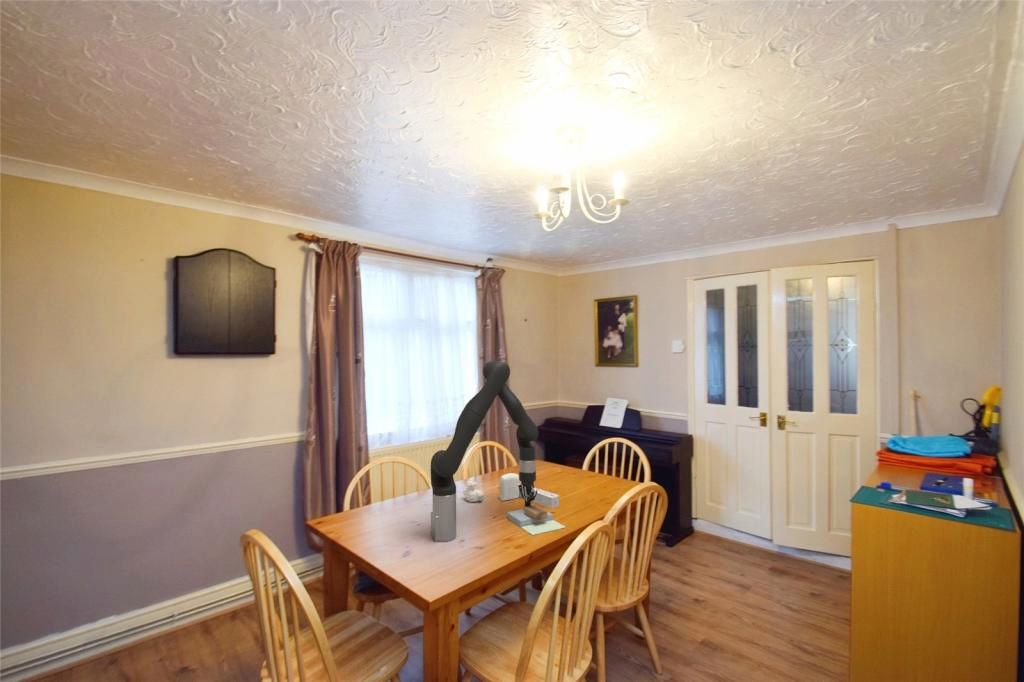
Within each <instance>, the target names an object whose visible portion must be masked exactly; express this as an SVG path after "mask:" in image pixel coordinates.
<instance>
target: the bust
mask: <svg viewBox="0 0 1024 682" xmlns="http://www.w3.org/2000/svg"><path fill="white" fill-rule="evenodd" d="M477 484H478V482H475V481H474V480H466V488H464V489H463V490H462V493H463V495H464V499H466V500H467V501H468V502H469V503H476V502H483V501H484V500H485V494H484V492H483V490H481V489H477V488H476V487H477Z"/></svg>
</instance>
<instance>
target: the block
mask: <svg viewBox="0 0 1024 682" xmlns="http://www.w3.org/2000/svg"><path fill="white" fill-rule="evenodd" d="M523 509H524V515H526V516H528V517H529V518H531V519H533V520H534V521H539V520H543V519H547V510H546V509H544V508H542V507H541V508H540V506H539V505H537V504H534V505H531V506H529V507H525V506H524V508H523Z"/></svg>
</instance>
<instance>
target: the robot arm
mask: <svg viewBox="0 0 1024 682" xmlns="http://www.w3.org/2000/svg"><path fill="white" fill-rule="evenodd" d="M482 375H483V377H484V379H485V383H484V385H483V386H482V388H481V389H480V390H479V391H478V392H477V393H476V394H475V395H474V396H473V397H472V398H470V400H469V401H467V403H466V404H465V406H464V407H463V409H462V411H461V413H460V414H459V417H458V419H457V422H456V425H455V429H454V433H453V437H452V439H451V441H450V443H449V445H448V446H447V448H446V449H445V450H443V449H442V450H441V449H440V450H437V451H436V452H435V453H434V454H433V455H432V457H431V460H430V484H431V490H432V511H431V512H430V537H431V539H433V541H434V542H436V543H438V542H450V541H452V540H455V539H456V538H457V485H456V482H455V480H454V479H455V478H454V475H455V474H456V473H457V471H458V470H459V468H460V466H461V464H462V462H463V459H464V457H465V454H466V452H467V450H468V448H469V446H470V444H471V443H472V442H473V439H474V437H475V436H476V434H477V431H478V430H479V428H480V427H481V425H482V423H483V422H484V420H485V418H486V415H487V413H488V412H489V410H490V409H491V406H492V405H493V403H494V401H495V399H496V398H497V396H498V398H499V399H500V401H501V403H502V404H503V406H504V408H505V410H506V412H507V413H508V416H509V417H510V419H511V420H512V422H513V424H515V425H516V426H517V428H516V432H515V433H516V434H515V435H516V437H515V438H516V440H517V446H518V449H519V461H518V476H519V482H520V483H521V485H518V487H519V490H520V493H521V496H522V498H521V499H523V498H524V499H523V501H524V507H529V506H532V501H534V499H535V497H536V495H537V491H535V490H534V487H535V485H534V483H535V482H536V481H537V462H536V461H537V460H536V448H535V446H534V445H533V444H532V442H534V441H536V440H537V439H538V437H539V429H538V426H537V425H536V424H535V422H534V421H533V420H532V418H531V417H530V416H529V415H528V414H527V412H526V410H525V407H524V406H523V403H522V402H521V400H520V399H519V398H518V397H517V396H516V395H515V393H514V392H513V391H512V389H511V388H510V387H509V386H508V384H507V382H508V380H509V377H510V375H511V368H510V366H509V364H508V363H506V362H503V361H498V360H491V361H490V360H489V361H487V362H486V363H485V364H484V365H483V368H482Z"/></svg>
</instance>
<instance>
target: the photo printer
mask: <svg viewBox="0 0 1024 682" xmlns="http://www.w3.org/2000/svg"><path fill="white" fill-rule="evenodd" d="M519 483H520V480H519V473H518V474H517V473H513V472H512V473H511V472H510V473H505V474H504V475H501V476H500V477H499V501H502V502H504V501H509V500H515V499H518V498H520V497H519V487H518V485H519Z"/></svg>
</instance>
